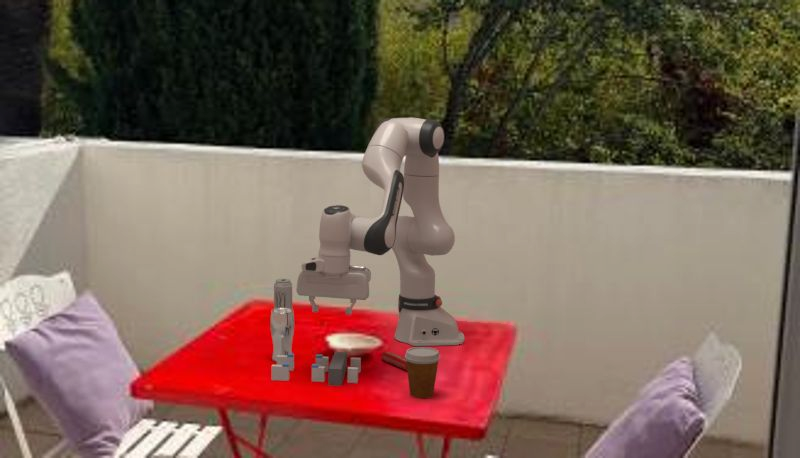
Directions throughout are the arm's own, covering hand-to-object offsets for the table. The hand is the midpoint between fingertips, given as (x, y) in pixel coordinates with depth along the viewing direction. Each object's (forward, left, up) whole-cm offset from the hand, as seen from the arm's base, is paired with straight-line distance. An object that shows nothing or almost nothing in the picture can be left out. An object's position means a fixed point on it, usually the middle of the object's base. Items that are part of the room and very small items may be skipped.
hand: (332, 313), depth 285 cm
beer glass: (+16, -14, -19) cm, 28 cm away
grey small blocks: (+4, 0, -18) cm, 19 cm away
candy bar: (-19, -12, -19) cm, 29 cm away
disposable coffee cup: (-26, +13, -19) cm, 34 cm away
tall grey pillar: (-2, 0, -19) cm, 19 cm away
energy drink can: (+22, -53, -19) cm, 60 cm away
